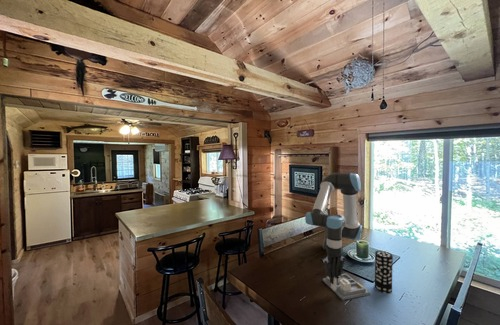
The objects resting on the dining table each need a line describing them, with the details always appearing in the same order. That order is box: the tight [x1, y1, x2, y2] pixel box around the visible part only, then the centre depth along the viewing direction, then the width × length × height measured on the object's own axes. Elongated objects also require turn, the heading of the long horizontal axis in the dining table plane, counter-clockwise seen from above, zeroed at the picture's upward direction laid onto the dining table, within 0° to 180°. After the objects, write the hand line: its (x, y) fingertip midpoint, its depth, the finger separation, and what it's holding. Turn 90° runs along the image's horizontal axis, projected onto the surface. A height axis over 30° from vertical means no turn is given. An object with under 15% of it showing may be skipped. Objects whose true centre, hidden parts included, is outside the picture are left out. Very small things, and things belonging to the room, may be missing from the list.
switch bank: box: [322, 273, 371, 301], centre depth 124 cm, size 17×18×3 cm
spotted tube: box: [374, 250, 394, 294], centre depth 122 cm, size 8×8×20 cm
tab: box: [340, 279, 351, 292], centre depth 119 cm, size 4×4×6 cm
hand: (333, 288), depth 117 cm, fingers closed
